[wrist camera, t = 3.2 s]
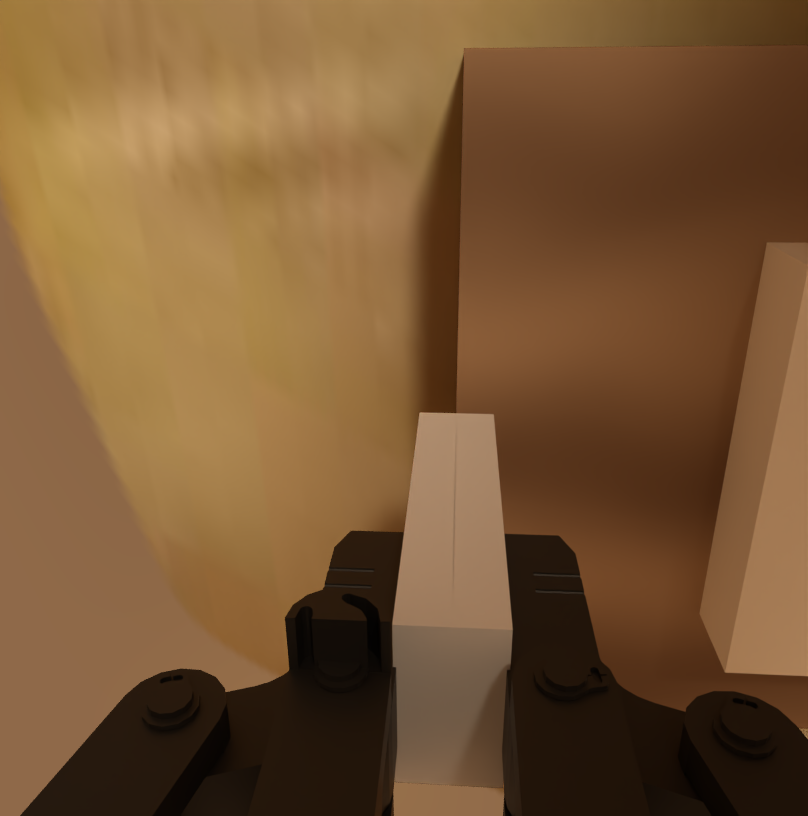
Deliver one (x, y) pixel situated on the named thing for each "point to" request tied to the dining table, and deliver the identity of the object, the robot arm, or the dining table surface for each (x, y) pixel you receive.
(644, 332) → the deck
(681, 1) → the dining table surface
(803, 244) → the cream rectangular block
